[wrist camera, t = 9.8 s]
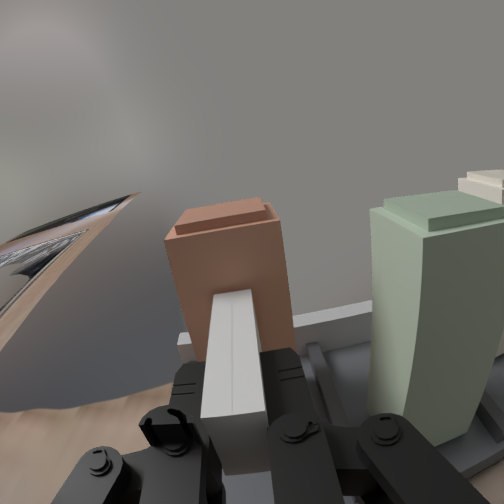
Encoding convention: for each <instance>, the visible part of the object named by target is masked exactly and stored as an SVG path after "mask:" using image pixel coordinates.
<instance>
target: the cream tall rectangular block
mask: <svg viewBox="0 0 504 504" xmlns="http://www.w3.org/2000/svg"><path fill="white" fill-rule="evenodd" d="M458 191H461V192H464V193H467V194H470V195H474V196H477V197H480V198H483V199H486V200H489V201H492V202H495V203H498V204H501V205H504V170H488V171H473V172H467V177H465V178H458ZM503 353H504V328H503V331H502V335H501V339H500V343H499V346H498V350H497V353H496V356H495V357H497V356H499V355H501V354H503Z"/></svg>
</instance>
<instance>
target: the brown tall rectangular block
mask: <svg viewBox="0 0 504 504" xmlns="http://www.w3.org/2000/svg"><path fill="white" fill-rule="evenodd" d="M164 243H165V248H166V251H167V255H168V260H169V263H170V268H171V271H172V275H173V279H174V283H175V286H176V290H177V294H178V297H179V301H180V304H181V308H182V312H183V315H184V319H185V322H186V325H187V329H188V332H189V336H190V339H191V342H192V345H193V349H194V352H195V355H196V358H197V361H198V362H202V361H206V357H207V348H208V339H209V330H210V322H211V313H212V305H213V297H214V295H215V294H221V293H228V292H234V291H240V290H246V289H251V292H252V298H253V304H254V309H255V315H256V320H257V326H258V331H259V337H260V342H261V349H262V352H265V351H271V350H277V349H282V348H288V347H290V348H291V349H293V350H294V351H295V352H296V343H295V334H294V326H293V317H292V309H291V300H290V292H289V286H288V285H289V284H288V277H287V269H286V261H285V254H284V246H283V238H282V231H281V224H280V219H279V218H278V216H277V214H276V213H275V211H274V209H273V208H272V206H271V204H270V203H269V202H266V203H262V201H261V199H260V197H255V198H250V199H243V200H237V201H231V202H226V203H221V204H214V205H209V206H203V207H198V208H192V209H187V210H185V212H184V213H183V214H182V216H181V217H180V218H179V220H178V221H177V222H176V224H175V225H174V227H173V228H172V229H171V231H170V232H169V234H168V235H167V236H166V238H165V239H164ZM296 353H297V352H296Z"/></svg>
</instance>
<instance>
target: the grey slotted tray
mask: <svg viewBox="0 0 504 504" xmlns="http://www.w3.org/2000/svg"><path fill="white" fill-rule="evenodd" d="M292 317H293V326H294V334H295V343H296V352H297V354H298V355H299V357H300V360H301V364H302V368H303V370H304V374H305V377H306V381H307V384H308V388H309V391H310V394H311V398H312V401H313V405H314V408H315V411H316V413H317V415H318V416H319V417H320V418H321V419H322V420H323V421H325V422H326V423H328V424H331V425H334V426H341V427H360V426H361V424H362V423H363V422H364V421H365V420H367V419H368V418H369V417H370V416H369V414H368V412H367V410H366V408H367V398H368V386H369V373H370V357H371V336H372V300H369V301H365V302H360V303H355V304H351V305H346V306H341V307H337V308H332V309H326V310H321V311H316V312H312V313H306V314H301V315H295V316H292ZM177 346H178V349H179V352H180V355H181V358H182V361H183V364H184V363H193V362H198V361H197V358H196V355H195V352H194V349H193V345H192V342H191V339H190V336H189V332H186V333H180V335H179V339H178V343H177ZM435 448H436V449H437V450H438V451H439V452H440V453H441V454H442V455H443V456H444V457H445V458H446V459H447V460H448V461H449V462H450V463H451V464H452V465H453V466H454V467H455V468H456V469H457V470H458V471H459V472H460V473H461V474H462V475H463V476H464V477H465V479H467V478H469V477H471V476H473V475H475V474H476V473H478V472H480V471H482V470H484V469H485V468H487V467H489V466H491V465H492V464H494V463H496V462H497V461H499V460H501V459H502V458H504V353H503V354H501V355H499V356H497V357H495V360H494V363H493V366H492V369H491V372H490V375H489V378H488V381H487V384H486V387H485V389H484V392H483V395H482V397H481V400H480V402H479V405H478V408H477V410H476V412H475V415H474V417H473V419H472V422H471V424H470V426H469V429H468V431H467V432H466V433H464V434H462V435H460V436H458V437H456V438H454V439H451V440H449V441H447V442H445V443H442V444H440V445H438V446H435ZM222 482H223V484H224V487H225V490H226V504H274V495H273V487H272V478H271V471H267V472H259V473H251V474H241V475H230V476H225V474H224V472H223V469H222ZM343 498H344V502H345V504H358V502H357V501H356V499H355V498H354V496H343Z"/></svg>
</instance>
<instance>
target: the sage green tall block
mask: <svg viewBox="0 0 504 504" xmlns="http://www.w3.org/2000/svg"><path fill="white" fill-rule="evenodd" d="M370 223H371V245H372V336H371V357H370V373H369V386H368V398H367V408H366V410H367V412H368V414H369V416H370V417H371V416H374V415H377V414H380V413H393V414H397V415H401V416H402V417H404V418H405V419H407V420H408V421H409V422H410V423H411V424H412V425H413V426H414V427H415V428H416V429H417V430H418V431H419V432H420V433H421V434H422V435H423V436H424V437H425V438H426V439H427V440H428V441H429V442H430V443H431V444H432V445H433V446H434V447H435V446H438V445H440V444H442V443H445V442H447V441H449V440H451V439H454V438H456V437H458V436H460V435H462V434H464V433H466V432H467V431H468V429H469V426H470V424H471V422H472V419H473V417H474V415H475V412H476V410H477V408H478V405H479V402H480V400H481V397H482V395H483V392H484V389H485V387H486V384H487V381H488V378H489V375H490V372H491V369H492V366H493V363H494V360H495V356H496V353H497V350H498V346H499V343H500V339H501V335H502V331H503V328H504V205H501V204H498V203H495V202H492V201H489V200H486V199H483V198H480V197H477V196H474V195H470V194H467V193H464V192H461V191H457V190H452V191H443V192H435V193H427V194H419V195H411V196H403V197H395V198H388V199H384V207H378V208H371V209H370Z"/></svg>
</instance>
